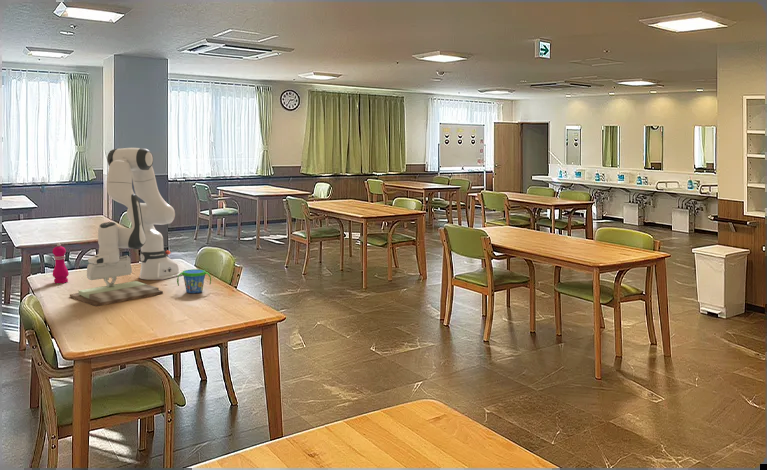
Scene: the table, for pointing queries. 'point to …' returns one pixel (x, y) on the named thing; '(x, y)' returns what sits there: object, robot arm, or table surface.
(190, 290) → the snack cup
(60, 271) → the pepper mill
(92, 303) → the floor board
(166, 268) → the robot arm
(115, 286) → the board
